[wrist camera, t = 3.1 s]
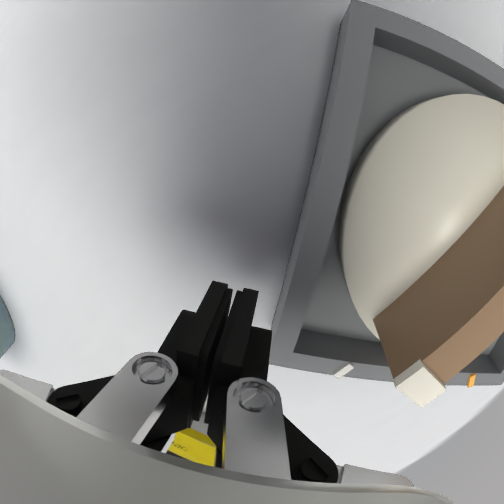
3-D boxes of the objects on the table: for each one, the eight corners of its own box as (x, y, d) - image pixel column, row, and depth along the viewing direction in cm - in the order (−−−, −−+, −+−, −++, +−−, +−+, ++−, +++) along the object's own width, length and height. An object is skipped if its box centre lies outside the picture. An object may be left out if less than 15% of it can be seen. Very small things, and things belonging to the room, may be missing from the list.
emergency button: (92, 460, 21) (122, 398, 15) (108, 430, 25) (148, 354, 19) (176, 501, 22) (255, 461, 16) (186, 469, 26) (262, 413, 20)
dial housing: (340, 24, 10) (353, -3, 7) (563, 142, 10) (596, 150, 7) (271, 328, 17) (266, 366, 14) (484, 358, 16) (502, 387, 13)
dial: (460, 44, 9) (534, 16, 3) (563, 233, 11) (619, 270, 6) (277, 236, 13) (267, 305, 8) (428, 375, 15) (455, 445, 10)
